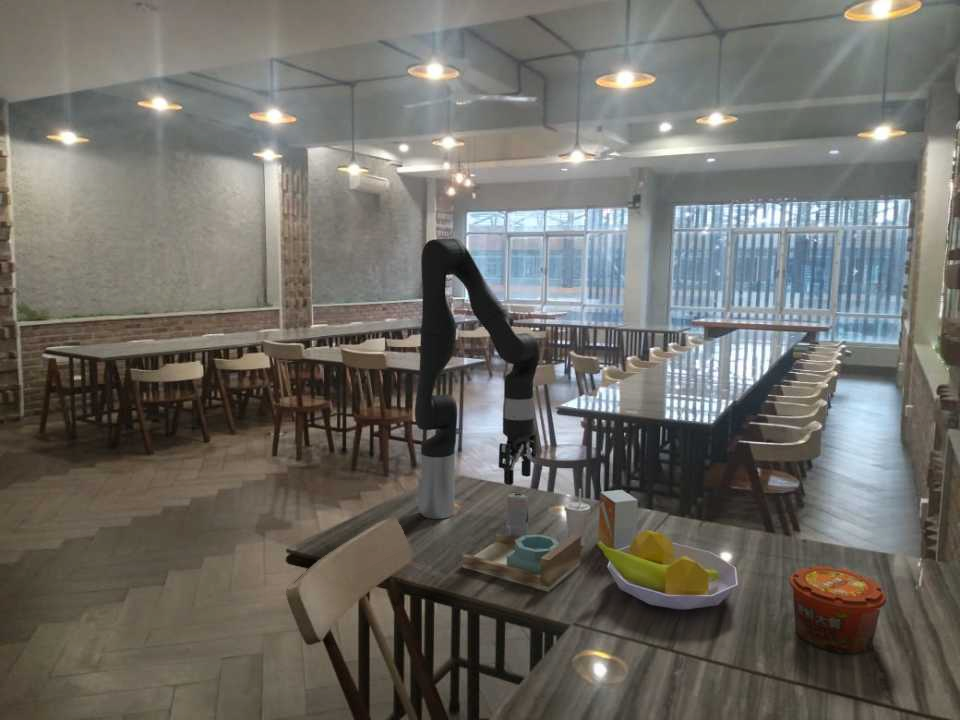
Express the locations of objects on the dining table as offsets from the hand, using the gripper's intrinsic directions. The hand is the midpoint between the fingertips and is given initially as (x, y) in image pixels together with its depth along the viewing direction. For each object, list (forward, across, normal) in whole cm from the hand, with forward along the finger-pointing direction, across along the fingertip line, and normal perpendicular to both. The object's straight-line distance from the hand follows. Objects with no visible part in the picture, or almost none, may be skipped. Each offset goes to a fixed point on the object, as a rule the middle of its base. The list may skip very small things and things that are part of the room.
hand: (517, 480), depth 172 cm
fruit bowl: (+16, -6, -40) cm, 43 cm away
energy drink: (+16, 0, 0) cm, 16 cm away
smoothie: (+16, +7, -13) cm, 22 cm away
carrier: (+15, -12, -12) cm, 22 cm away
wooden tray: (+16, -12, -8) cm, 21 cm away
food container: (+17, -6, -72) cm, 74 cm away
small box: (+16, +11, -22) cm, 29 cm away
